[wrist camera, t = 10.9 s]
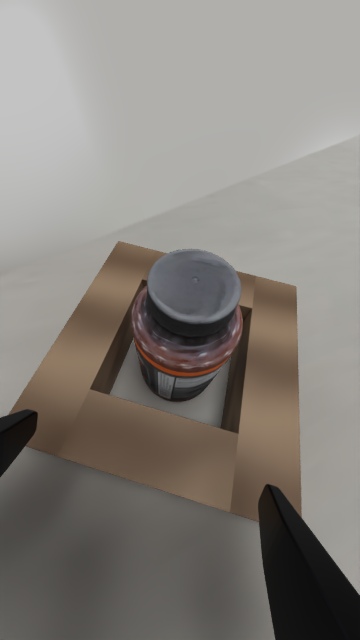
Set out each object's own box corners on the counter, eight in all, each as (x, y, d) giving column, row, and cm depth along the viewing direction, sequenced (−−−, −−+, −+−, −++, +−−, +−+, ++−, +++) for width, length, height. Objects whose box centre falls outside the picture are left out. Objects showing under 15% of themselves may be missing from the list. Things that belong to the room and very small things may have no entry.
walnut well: (263, 512, 14) (301, 535, 10) (36, 439, 15) (-6, 436, 11) (272, 314, 22) (296, 286, 19) (125, 275, 23) (118, 241, 20)
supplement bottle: (141, 338, 20) (123, 231, 10) (205, 334, 21) (245, 230, 11) (142, 407, 17) (119, 349, 7) (217, 400, 18) (288, 338, 8)
